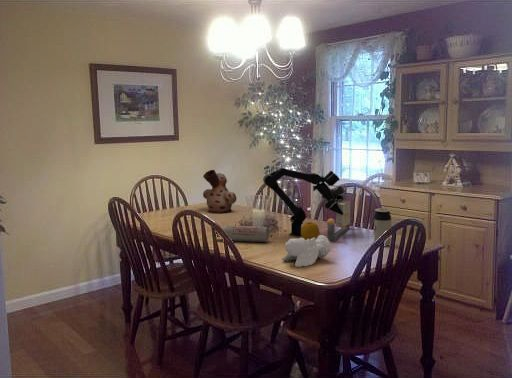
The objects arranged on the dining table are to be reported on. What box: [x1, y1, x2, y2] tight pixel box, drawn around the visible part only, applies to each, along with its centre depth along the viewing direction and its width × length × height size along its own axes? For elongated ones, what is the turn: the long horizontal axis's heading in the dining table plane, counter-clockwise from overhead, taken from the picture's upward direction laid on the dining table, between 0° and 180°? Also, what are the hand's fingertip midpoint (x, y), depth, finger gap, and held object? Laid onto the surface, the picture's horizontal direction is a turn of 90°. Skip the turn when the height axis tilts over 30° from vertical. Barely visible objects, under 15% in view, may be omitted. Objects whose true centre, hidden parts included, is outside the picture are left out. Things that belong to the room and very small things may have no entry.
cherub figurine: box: [281, 234, 332, 268], centre depth 218 cm, size 13×12×20 cm
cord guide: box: [326, 218, 351, 243], centre depth 266 cm, size 34×4×12 cm, turn 154°
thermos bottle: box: [215, 225, 270, 243], centre depth 258 cm, size 8×8×28 cm
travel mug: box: [373, 207, 392, 247], centre depth 243 cm, size 8×8×18 cm
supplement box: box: [335, 200, 351, 228], centre depth 265 cm, size 8×5×13 cm, turn 143°
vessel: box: [202, 169, 238, 214], centre depth 337 cm, size 29×22×30 cm
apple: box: [300, 221, 321, 240], centre depth 248 cm, size 10×10×12 cm
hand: (345, 212), depth 264 cm, fingers closed on supplement box, 8 cm apart
